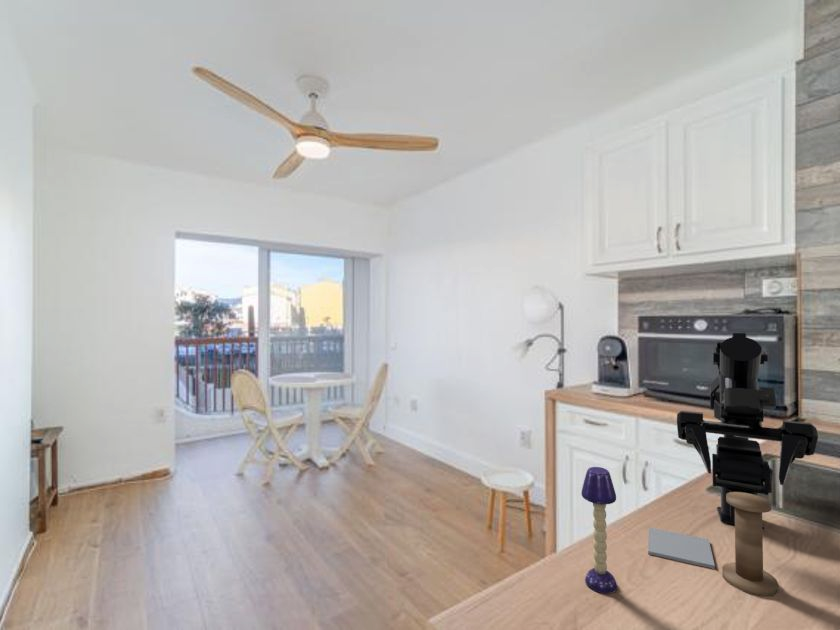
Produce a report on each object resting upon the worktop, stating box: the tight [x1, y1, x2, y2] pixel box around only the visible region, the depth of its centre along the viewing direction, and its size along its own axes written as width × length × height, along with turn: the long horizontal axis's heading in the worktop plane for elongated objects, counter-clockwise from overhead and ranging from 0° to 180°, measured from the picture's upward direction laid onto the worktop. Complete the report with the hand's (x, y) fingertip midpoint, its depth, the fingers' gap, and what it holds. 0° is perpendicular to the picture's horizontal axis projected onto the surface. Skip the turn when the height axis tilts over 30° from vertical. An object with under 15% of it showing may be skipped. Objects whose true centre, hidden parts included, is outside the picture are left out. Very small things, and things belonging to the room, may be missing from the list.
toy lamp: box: [581, 466, 618, 594], centre depth 62 cm, size 5×5×17 cm
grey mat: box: [647, 527, 716, 570], centre depth 72 cm, size 9×9×1 cm
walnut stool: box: [721, 492, 779, 597], centre depth 63 cm, size 6×6×12 cm
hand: (744, 477), depth 68 cm, fingers open, 9 cm apart
